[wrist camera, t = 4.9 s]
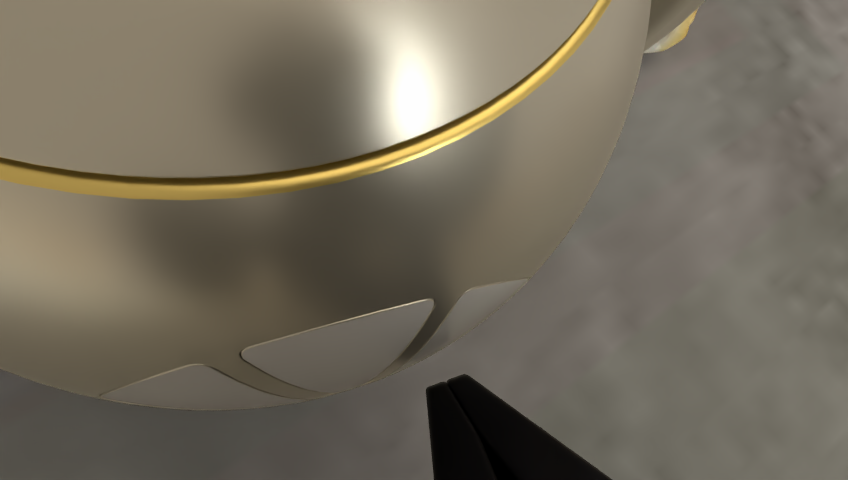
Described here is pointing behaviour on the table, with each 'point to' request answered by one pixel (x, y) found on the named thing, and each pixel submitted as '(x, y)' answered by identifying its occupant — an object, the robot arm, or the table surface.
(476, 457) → the robot arm
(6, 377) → the table surface
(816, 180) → the table surface
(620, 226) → the table surface
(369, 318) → the teapot
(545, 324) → the table surface
